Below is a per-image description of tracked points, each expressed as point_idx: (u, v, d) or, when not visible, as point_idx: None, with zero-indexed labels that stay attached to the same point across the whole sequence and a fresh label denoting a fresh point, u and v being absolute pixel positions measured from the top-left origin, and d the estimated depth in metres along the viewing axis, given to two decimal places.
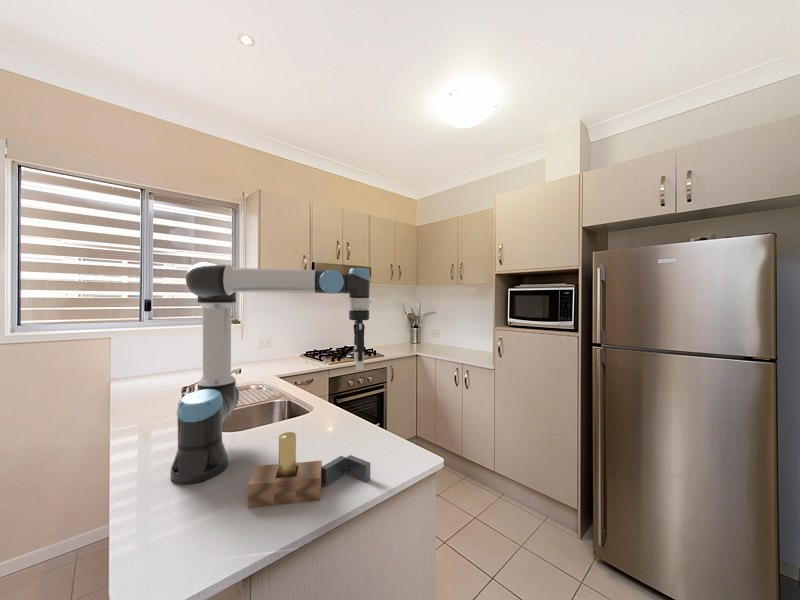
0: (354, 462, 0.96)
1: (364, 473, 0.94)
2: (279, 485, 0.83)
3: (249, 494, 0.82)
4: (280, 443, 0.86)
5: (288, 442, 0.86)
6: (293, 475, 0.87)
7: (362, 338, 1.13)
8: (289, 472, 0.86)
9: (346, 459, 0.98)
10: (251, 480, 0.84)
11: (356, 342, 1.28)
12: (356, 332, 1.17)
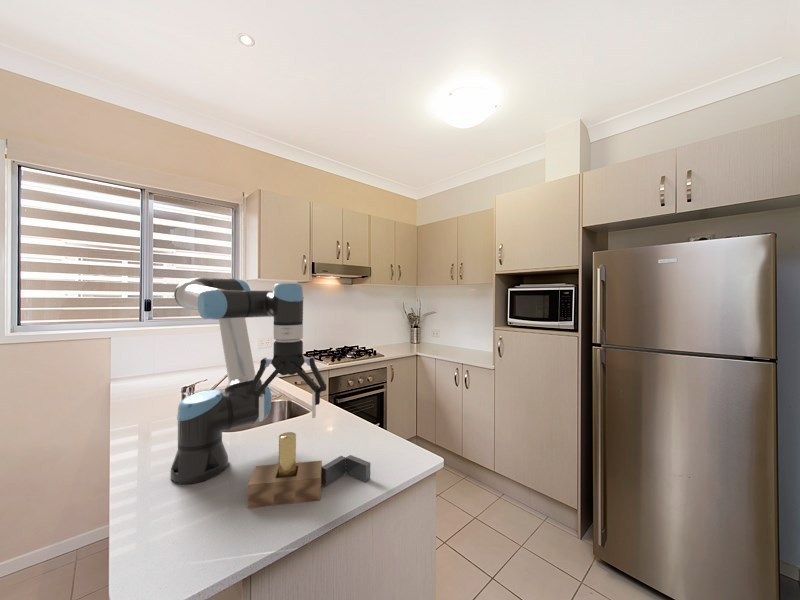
0: (354, 462, 0.96)
1: (364, 473, 0.94)
2: (279, 485, 0.83)
3: (249, 494, 0.82)
4: (280, 443, 0.86)
5: (288, 442, 0.86)
6: (293, 475, 0.87)
7: (254, 378, 0.85)
8: (289, 472, 0.86)
9: (346, 459, 0.98)
10: (251, 480, 0.84)
11: None
12: None
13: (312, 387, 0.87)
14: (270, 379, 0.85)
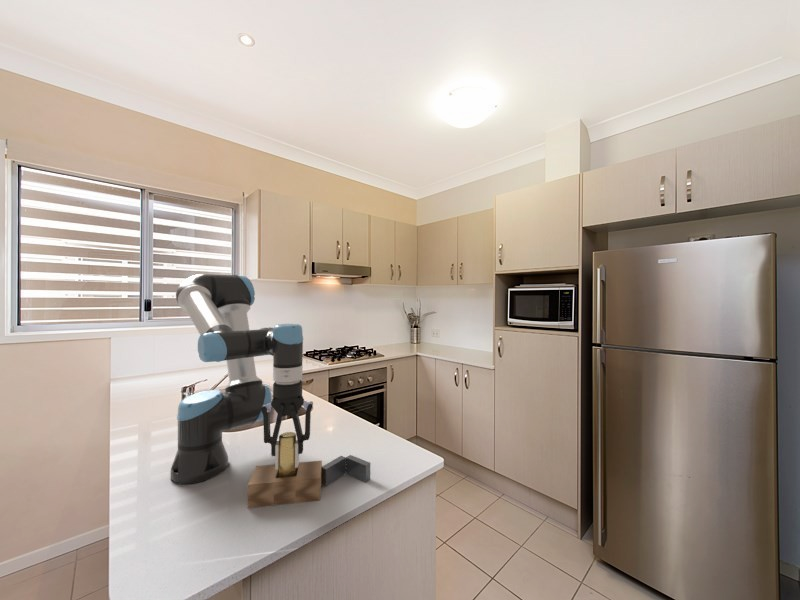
0: (354, 462, 0.96)
1: (364, 473, 0.94)
2: (279, 485, 0.83)
3: (249, 494, 0.82)
4: (280, 443, 0.86)
5: (288, 442, 0.86)
6: (293, 475, 0.87)
7: (264, 426, 0.86)
8: (289, 472, 0.86)
9: (346, 459, 0.98)
10: (251, 480, 0.84)
11: None
12: None
13: (298, 435, 0.87)
14: (278, 423, 0.86)
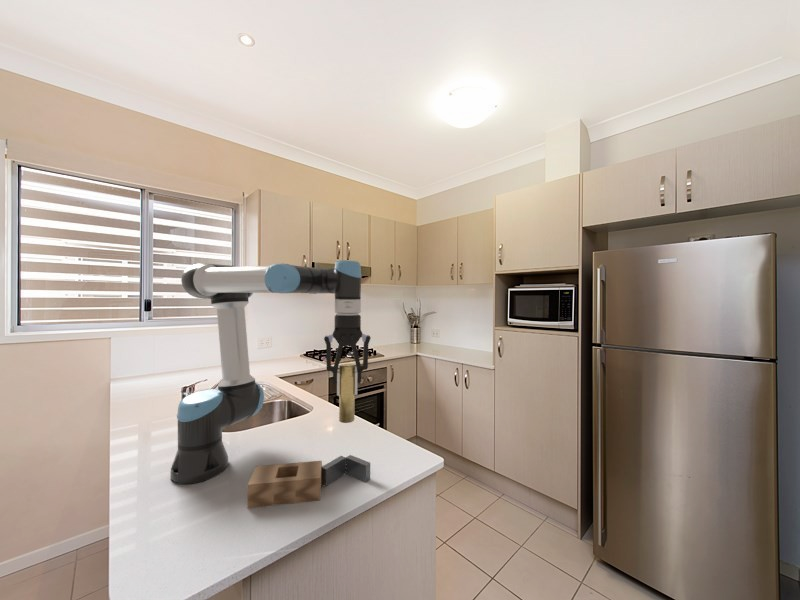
0: (354, 462, 0.96)
1: (364, 473, 0.94)
2: (279, 485, 0.83)
3: (249, 494, 0.82)
4: (341, 371, 0.92)
5: (349, 370, 0.92)
6: (353, 402, 0.93)
7: None
8: (350, 399, 0.92)
9: (346, 459, 0.98)
10: (251, 480, 0.84)
11: None
12: None
13: (357, 364, 0.93)
14: (339, 353, 0.92)
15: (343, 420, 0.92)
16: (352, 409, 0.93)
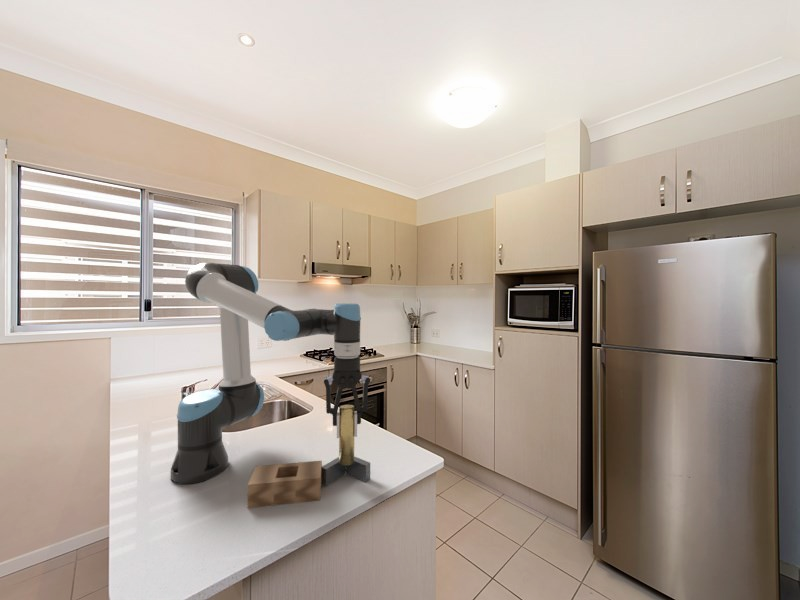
0: (354, 462, 0.96)
1: (364, 473, 0.94)
2: (279, 485, 0.83)
3: (249, 494, 0.82)
4: (341, 414, 0.92)
5: (348, 413, 0.92)
6: (353, 444, 0.93)
7: (326, 398, 0.92)
8: (350, 441, 0.92)
9: None
10: (251, 480, 0.84)
11: None
12: (338, 386, 0.95)
13: (357, 406, 0.93)
14: (339, 395, 0.92)
15: (343, 463, 0.92)
16: (352, 451, 0.93)
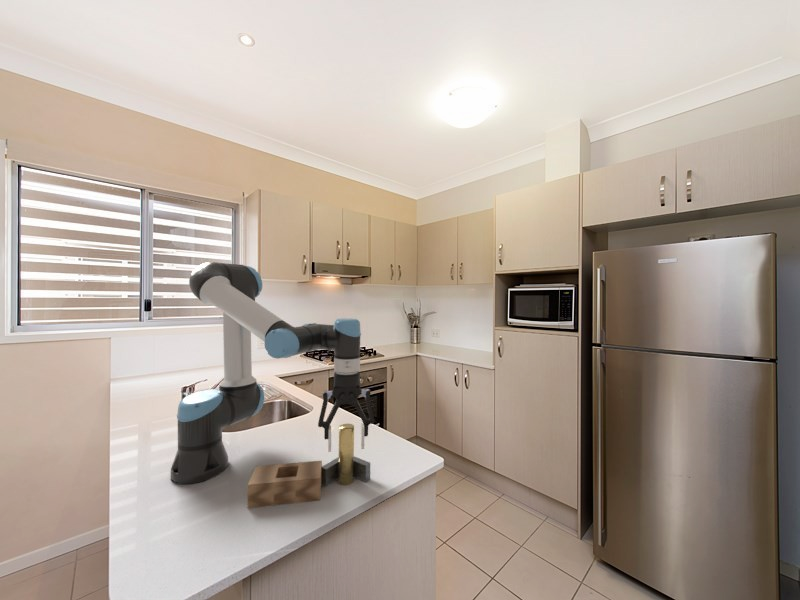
0: (354, 462, 0.96)
1: (364, 473, 0.94)
2: (279, 485, 0.83)
3: (249, 494, 0.82)
4: (341, 433, 0.92)
5: (348, 432, 0.92)
6: (352, 463, 0.93)
7: (321, 411, 0.92)
8: (349, 461, 0.92)
9: None
10: (251, 480, 0.84)
11: None
12: (336, 400, 0.94)
13: (363, 419, 0.94)
14: (335, 410, 0.92)
15: (342, 482, 0.92)
16: (351, 471, 0.93)
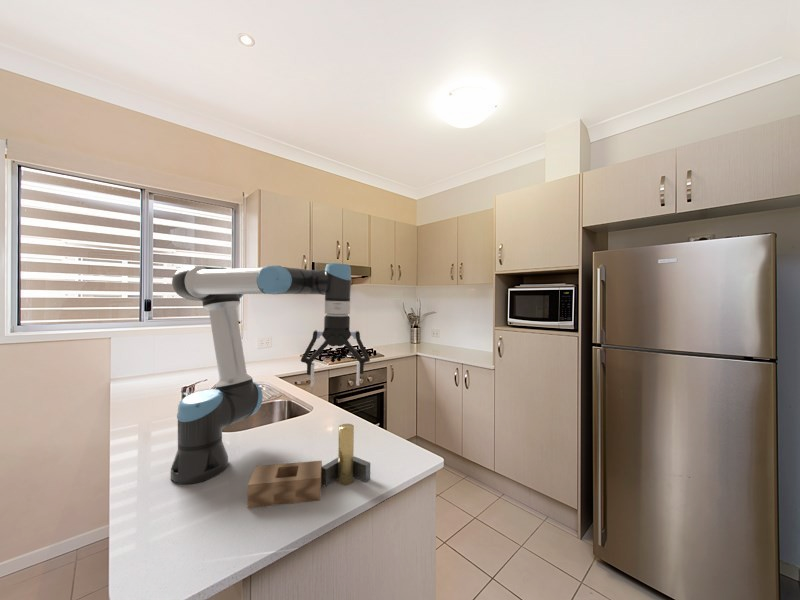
0: (354, 462, 0.96)
1: (364, 473, 0.94)
2: (279, 485, 0.83)
3: (249, 494, 0.82)
4: (340, 433, 0.92)
5: (347, 433, 0.92)
6: (352, 463, 0.93)
7: None
8: (349, 461, 0.92)
9: None
10: (251, 480, 0.84)
11: None
12: (324, 341, 0.97)
13: (357, 358, 0.97)
14: (321, 349, 0.95)
15: (342, 482, 0.92)
16: (351, 471, 0.93)
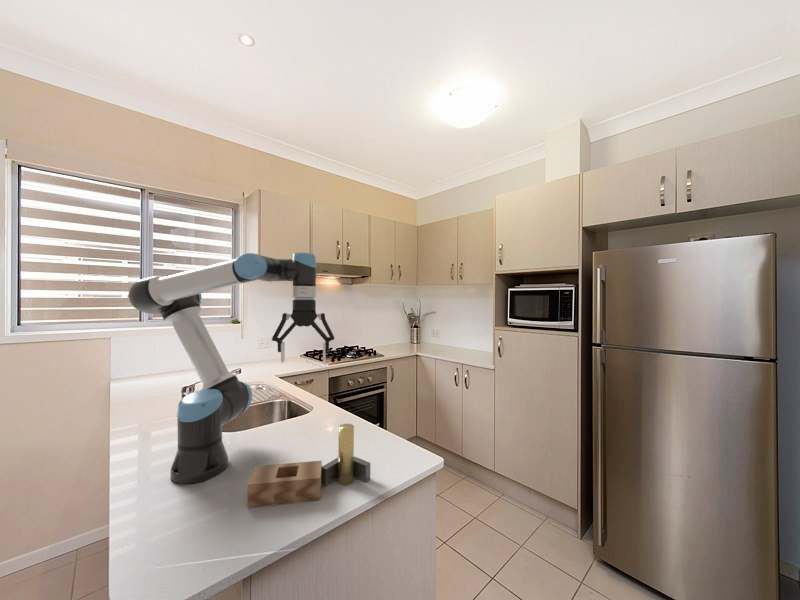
0: (354, 462, 0.96)
1: (364, 473, 0.94)
2: (279, 485, 0.83)
3: (249, 494, 0.82)
4: (340, 433, 0.92)
5: (348, 433, 0.92)
6: (352, 463, 0.93)
7: (277, 328, 1.07)
8: (349, 461, 0.92)
9: None
10: (251, 480, 0.84)
11: None
12: None
13: (323, 337, 1.09)
14: (290, 329, 1.07)
15: (342, 482, 0.92)
16: (351, 471, 0.93)
